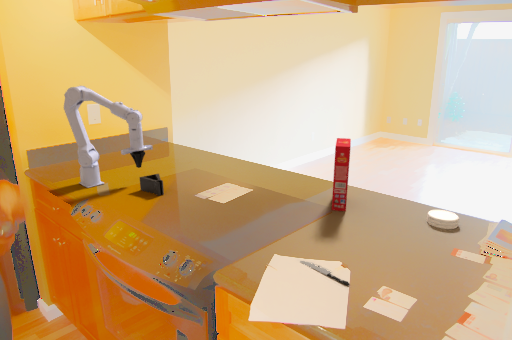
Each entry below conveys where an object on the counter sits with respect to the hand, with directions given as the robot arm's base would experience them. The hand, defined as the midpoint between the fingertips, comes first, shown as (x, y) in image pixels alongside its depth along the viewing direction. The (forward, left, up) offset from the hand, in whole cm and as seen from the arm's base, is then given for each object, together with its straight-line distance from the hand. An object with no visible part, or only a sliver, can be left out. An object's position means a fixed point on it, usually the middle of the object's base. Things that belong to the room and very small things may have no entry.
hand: (138, 167), depth 172 cm
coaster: (+116, +51, -8) cm, 127 cm away
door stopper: (+9, 0, -5) cm, 10 cm away
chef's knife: (+103, -3, -9) cm, 104 cm away
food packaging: (+80, +42, -8) cm, 91 cm away
